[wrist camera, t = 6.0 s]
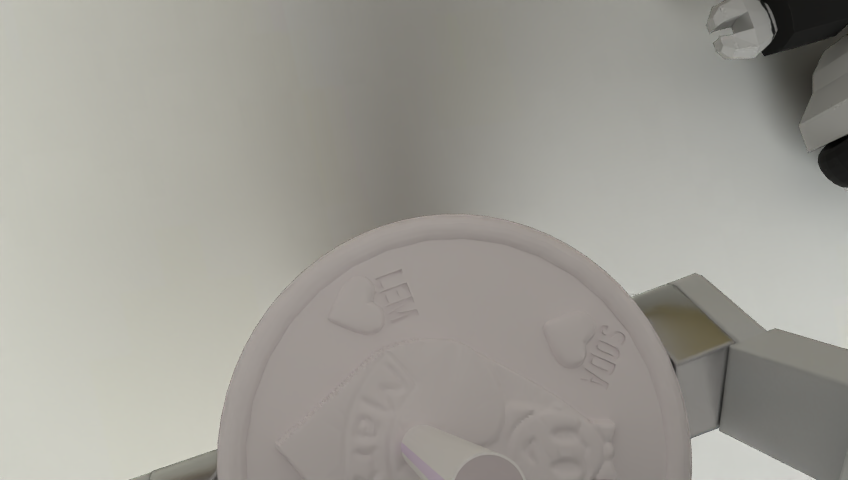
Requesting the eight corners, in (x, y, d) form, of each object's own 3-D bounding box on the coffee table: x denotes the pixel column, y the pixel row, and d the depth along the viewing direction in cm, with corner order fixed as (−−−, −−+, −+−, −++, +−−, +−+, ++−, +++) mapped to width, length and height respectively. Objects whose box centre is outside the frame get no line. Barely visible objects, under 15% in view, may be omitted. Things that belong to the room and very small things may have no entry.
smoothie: (287, 292, 19) (142, 39, 5) (521, 301, 20) (930, 96, 6) (270, 549, 18) (22, 1095, 4) (523, 549, 18) (1058, 1017, 5)
